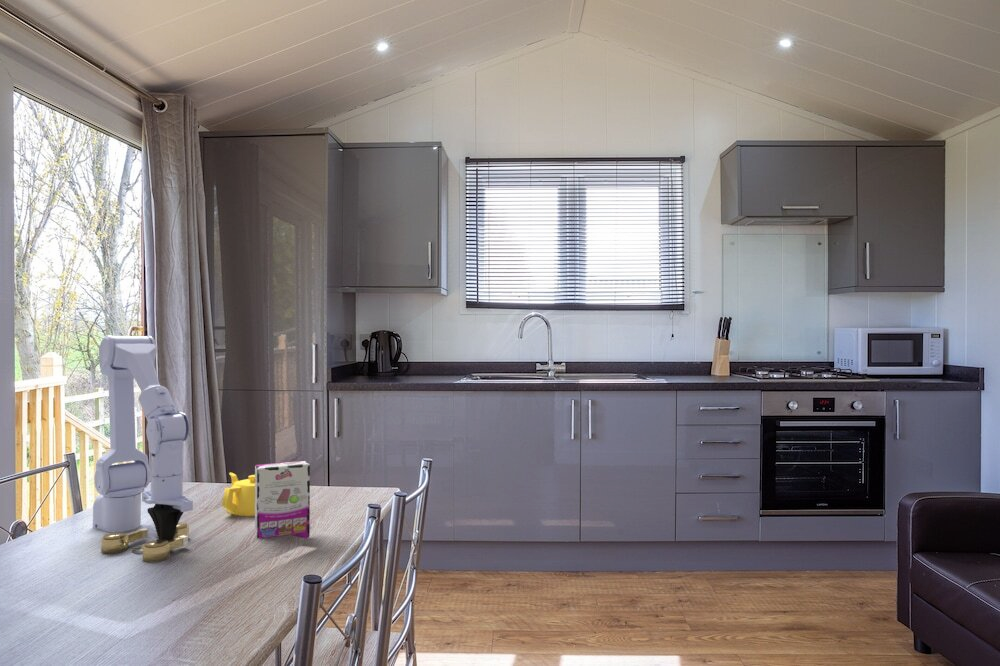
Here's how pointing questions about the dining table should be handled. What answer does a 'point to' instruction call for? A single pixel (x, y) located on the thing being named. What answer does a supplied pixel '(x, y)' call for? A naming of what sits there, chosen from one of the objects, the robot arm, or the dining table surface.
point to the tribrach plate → (138, 549)
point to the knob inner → (120, 540)
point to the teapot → (240, 496)
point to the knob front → (161, 548)
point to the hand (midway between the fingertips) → (166, 541)
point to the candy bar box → (282, 499)
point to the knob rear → (182, 530)
